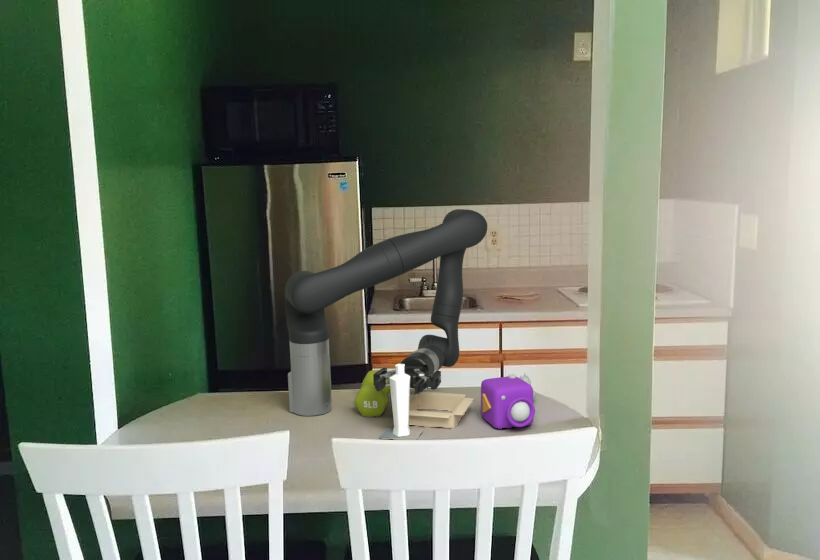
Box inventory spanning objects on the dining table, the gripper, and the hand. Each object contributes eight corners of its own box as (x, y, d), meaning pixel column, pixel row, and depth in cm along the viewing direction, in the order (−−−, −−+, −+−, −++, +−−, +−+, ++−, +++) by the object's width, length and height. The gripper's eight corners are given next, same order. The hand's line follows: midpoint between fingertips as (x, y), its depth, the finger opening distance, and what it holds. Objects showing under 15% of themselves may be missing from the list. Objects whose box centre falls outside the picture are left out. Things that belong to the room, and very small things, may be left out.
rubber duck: (517, 408, 166) (516, 375, 165) (508, 400, 172) (508, 368, 171) (539, 406, 167) (539, 374, 165) (530, 398, 173) (530, 366, 172)
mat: (379, 438, 149) (378, 437, 149) (388, 429, 155) (388, 427, 155) (415, 442, 147) (415, 440, 147) (423, 432, 152) (423, 430, 152)
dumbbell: (387, 418, 162) (386, 388, 161) (353, 418, 163) (352, 388, 162) (394, 396, 178) (393, 368, 177) (363, 396, 179) (362, 368, 178)
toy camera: (508, 439, 147) (508, 393, 145) (473, 420, 159) (472, 377, 157) (549, 429, 152) (549, 384, 150) (512, 411, 164) (512, 370, 162)
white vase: (387, 435, 149) (385, 367, 147) (395, 428, 153) (393, 361, 151) (407, 438, 148) (405, 369, 145) (415, 431, 152) (413, 363, 149)
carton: (389, 427, 156) (389, 412, 155) (411, 404, 171) (411, 390, 170) (460, 433, 151) (460, 417, 150) (476, 409, 166) (476, 395, 165)
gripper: (389, 350, 164) (364, 368, 149) (449, 353, 160) (429, 372, 144) (390, 381, 165) (365, 403, 150) (449, 385, 161) (430, 408, 146)
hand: (397, 388), depth 147 cm, fingers open, 8 cm apart
